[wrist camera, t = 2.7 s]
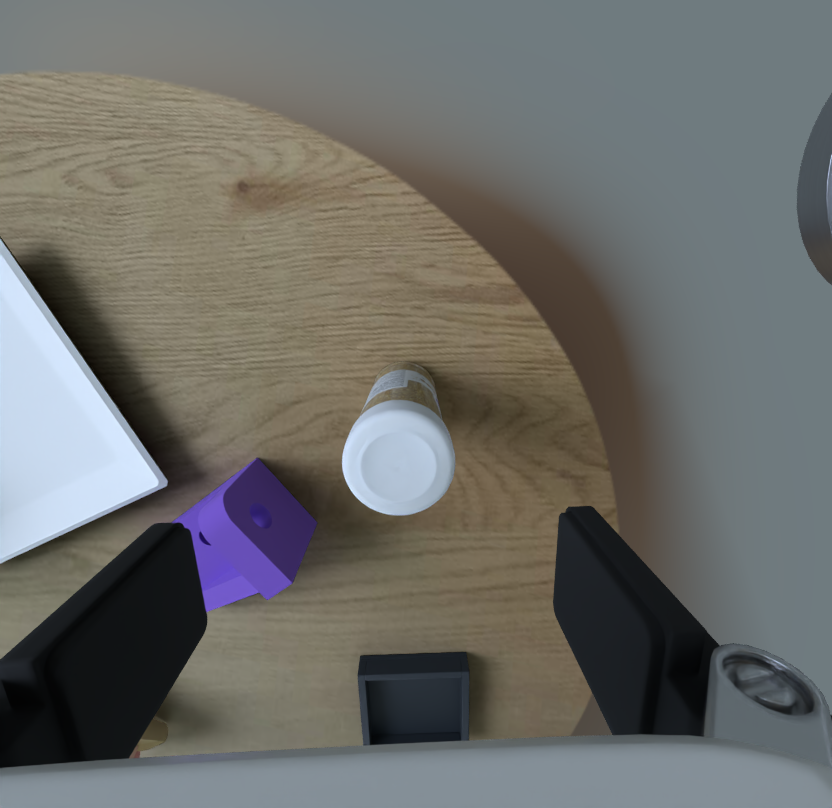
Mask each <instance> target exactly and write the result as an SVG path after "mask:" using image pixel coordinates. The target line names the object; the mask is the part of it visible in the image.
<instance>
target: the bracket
mask: <svg viewBox="0 0 832 808" xmlns="http://www.w3.org/2000/svg"><path fill="white" fill-rule="evenodd" d="M172 523H182V524H183V526H184V528H188V529H189V530H190V532H191V535H192V540H193V545H194V551H195V556H196V561H197V566H198V571H199V577H200V582H201V587H202V592H203V598H204V603H205V608H206V612H208V611H210V610H213V609H216V608H218V607H221V606H224V605H226V604H229V603H232V602H235V601H237V600H240V599H243V598H245V597H248V596H251V595H254V594H256V593H261V594H262V595H263V596H264V597H265V598H266V599H267V600H268V599H270V598H271V597H273V596H274V595H276V594H277V593H279V592H280V591H282V590H283V589H285V588H286V587H287V586H289V585H290V584H292V583H293V580H294V578H295V576H296V573H297V571H298V568H299V566H300V564H301V561H302V559H303V556H304V554H305V551H306V549H307V547H308V544H309V542H310V539H311V537H312V535H313V532H314V530H315V527H316V525H317V522H316V521H315V519H314V518H313V517H312V516H311V515H310V514H309V513H308V512H307V511H306V510H305V509H304V507H303V506H302V505H301V504H300V503H299V502H298V501H297V500H296V499H295V498H294V497H293V495H292V494H291V493H290V492H289V491H288V490H287V489H286V488H285V487H284V486H283V485H282V484H281V482H280V481H279V480H278V479H277V478H276V477H275V476H274V475H273V474H272V473H271V472H270V470H269V469H268V468H267V467H266V466H265V465H264V464H263V463H262V462H261V461H260V460H259V458H256V459H255V460H254V461H252V462H251V463H250V464H248V465H247V466H246V467H244V468H243V469H242V470H240V471H239V472H238V473H236V474H235V475H234V476H232V477H231V478H230V479H228V480H227V481H226V482H225V483H223V484H222V485H221V486H219V487H218V488H217V489H215V490H214V491H213V492H211V493H210V494H209V495H207V496H206V497H205V498H203V499H202V500H201V501H199V502H198V503H197V504H195V505H194V506H193V507H191V508H190V509H189V510H188V511H186V512H185V513H184V514H182V515H181V516H180V517H178V518H177V519H176V520H174V521H173V522H172Z"/></svg>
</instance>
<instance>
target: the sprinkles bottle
mask: <svg viewBox="0 0 832 808" xmlns="http://www.w3.org/2000/svg"><path fill="white" fill-rule="evenodd" d="M342 466H343V473H344V477H345V480H346V482H347V484H348V486H349V488H350V490H351V491H352V493H353V494H354V495H355V496H356V497H357V499H359V500H360V501H361V502H362V503H363V504H365V505H366V506H367V507H369V508H371V509H373V510H375V511H378V512H381V513H384V514H389V515H409V514H414V513H417V512H420V511H422V510H425V509H427V508H428V507H430V506H432V505H433V504H434V503H436V502H437V501H438V500H439V499H440V498H441V497H442V496H443V495H444V494H445V492H446V491H447V489H448V487H449V485H450V483H451V481H452V479H453V475H454V470H455V453H454V448H453V444H452V441H451V437H450V434H449V432H448V430H447V428H446V426H445V424H444V423H443V421H442V416H441V412H440V408H439V404H438V400H437V395H436V389H435V384H434V381H433V379H432V377H431V376H430V374H429V373H428V372H427V371H426V370H425V369H424V368H423V367H421V366H419V365H417V364H415V363H411V362H395V363H393V364H391V365H388V366H387V367H385V368H384V369H383V370H381V372H380V373H379V374H378V375H377V377H376V379H375V382H374V385H373V388H372V390H371V392H370V394H369V397H368V399H367V401H366V404H365V406H364V408H363V410H362V413H361V416H360V417H359V419H358V420H357V421H356V422H355V424H354V426H353V427H352V429H351V431H350V434H349V436H348V439H347V441H346V444H345V447H344V451H343V457H342Z"/></svg>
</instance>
